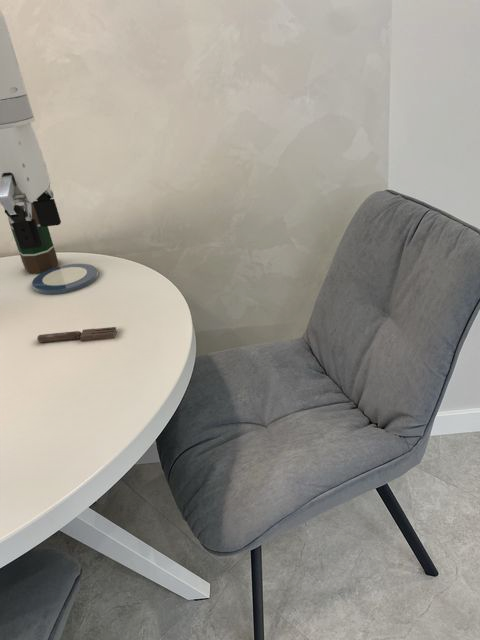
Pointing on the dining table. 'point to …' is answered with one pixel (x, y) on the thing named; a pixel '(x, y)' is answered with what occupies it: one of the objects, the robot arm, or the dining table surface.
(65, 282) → the plate
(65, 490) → the dining table surface
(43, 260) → the beer bottle
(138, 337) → the dining table surface
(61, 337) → the brown wooden dowel
